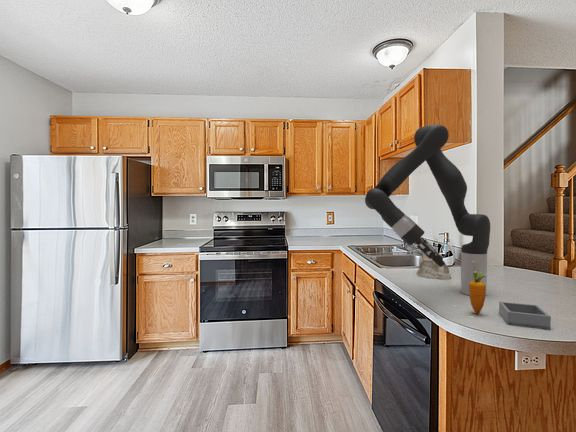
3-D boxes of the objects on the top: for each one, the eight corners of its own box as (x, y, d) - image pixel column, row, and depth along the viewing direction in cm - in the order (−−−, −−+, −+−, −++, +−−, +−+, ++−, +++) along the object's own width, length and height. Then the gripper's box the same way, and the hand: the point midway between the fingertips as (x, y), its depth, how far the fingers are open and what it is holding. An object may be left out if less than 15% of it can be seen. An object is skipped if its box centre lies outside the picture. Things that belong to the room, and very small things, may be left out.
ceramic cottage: (450, 280, 147) (449, 249, 147) (414, 278, 155) (413, 248, 156) (452, 275, 160) (451, 247, 160) (419, 273, 168) (418, 246, 169)
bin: (499, 312, 104) (499, 301, 104) (537, 317, 100) (537, 305, 100) (507, 324, 94) (508, 311, 94) (550, 329, 90) (550, 316, 90)
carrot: (479, 311, 106) (479, 269, 105) (489, 316, 101) (489, 272, 100) (465, 311, 106) (465, 269, 105) (474, 317, 101) (475, 272, 100)
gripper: (415, 224, 103) (452, 259, 99) (415, 221, 116) (448, 252, 112) (398, 239, 105) (434, 274, 102) (400, 234, 119) (432, 265, 115)
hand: (442, 262), depth 107 cm, fingers open, 8 cm apart
